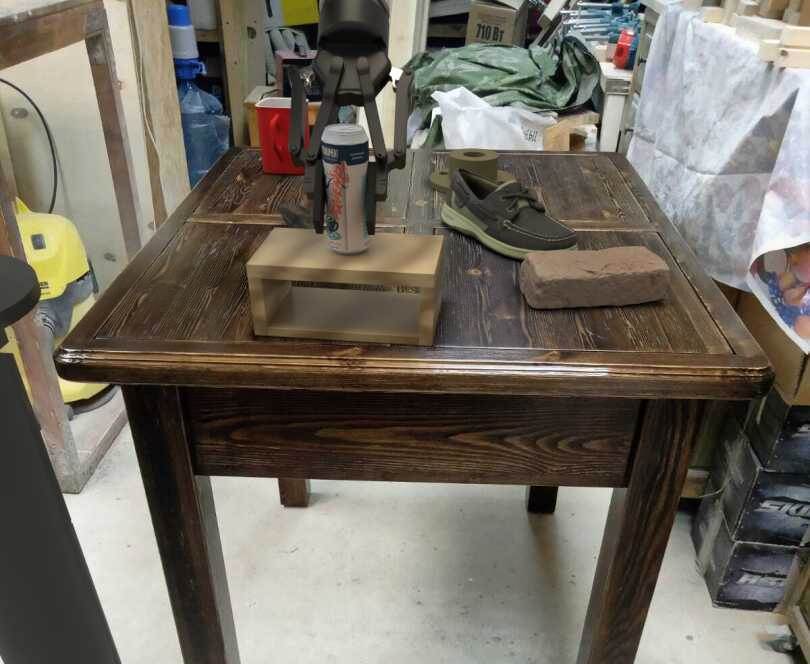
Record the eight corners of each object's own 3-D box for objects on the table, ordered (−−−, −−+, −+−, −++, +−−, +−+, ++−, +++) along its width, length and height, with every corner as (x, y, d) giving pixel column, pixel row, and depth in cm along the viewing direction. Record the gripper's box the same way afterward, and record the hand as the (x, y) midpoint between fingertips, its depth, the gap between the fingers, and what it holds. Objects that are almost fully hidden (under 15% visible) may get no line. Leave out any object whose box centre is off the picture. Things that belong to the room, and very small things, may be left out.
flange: (495, 170, 121) (532, 150, 131) (414, 158, 127) (455, 139, 137) (493, 201, 124) (529, 179, 134) (413, 187, 130) (453, 168, 140)
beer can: (323, 243, 85) (315, 124, 77) (364, 239, 86) (360, 121, 78) (333, 258, 82) (327, 134, 74) (376, 253, 83) (374, 131, 75)
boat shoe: (552, 273, 100) (561, 208, 95) (416, 229, 113) (417, 170, 108) (594, 255, 106) (605, 192, 100) (459, 215, 119) (462, 157, 114)
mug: (271, 161, 142) (265, 97, 136) (314, 163, 142) (310, 98, 135) (254, 179, 133) (246, 111, 126) (300, 181, 133) (294, 112, 126)
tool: (366, 270, 104) (368, 248, 102) (315, 276, 101) (316, 253, 99) (304, 212, 116) (304, 192, 114) (256, 216, 113) (256, 194, 111)
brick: (533, 311, 91) (538, 272, 88) (516, 284, 97) (520, 247, 94) (665, 306, 93) (674, 267, 90) (640, 280, 99) (648, 243, 96)
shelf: (254, 335, 85) (245, 264, 80) (281, 293, 94) (274, 227, 89) (432, 346, 84) (434, 273, 78) (441, 302, 93) (444, 235, 88)
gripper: (437, 45, 84) (429, 247, 82) (278, 43, 85) (266, 243, 83) (438, -10, 77) (430, 211, 75) (263, -12, 77) (250, 207, 75)
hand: (344, 227), depth 79 cm, fingers closed on beer can, 5 cm apart
